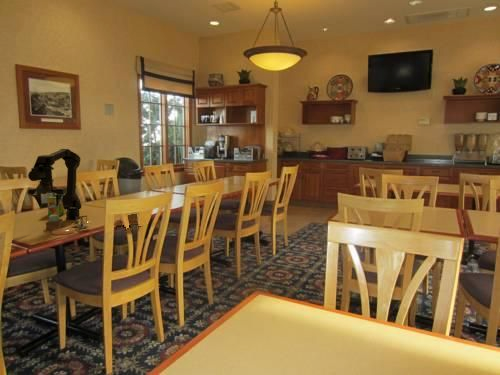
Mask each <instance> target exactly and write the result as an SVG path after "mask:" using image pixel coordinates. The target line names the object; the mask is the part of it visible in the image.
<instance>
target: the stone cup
mask: <svg viewBox="0 0 500 375" xmlns="http://www.w3.org/2000/svg"><path fill="white" fill-rule="evenodd" d="M121 219H122V218H120V219H117V220H115V221H114V225H115V227H124V226H123V225H122V221H121ZM128 219H129V223H130V226H136V225H139V224H138V223H137V214H131V215H128ZM130 226H129V227H130Z"/></svg>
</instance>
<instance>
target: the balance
mask: <svg viewBox="0 0 500 375" xmlns="http://www.w3.org/2000/svg"><path fill="white" fill-rule="evenodd" d="M77 218H79V219H77ZM83 218H85V219H86V220H85V221H83V220H84V219H83ZM87 224H88V225H89V224H92V221H91V220H88V215H81V216H80V215H79V217H76V219H75V220H74V222H72V223H71V225H72V226H76V228H78V229H81V230H82V229H87V228H88V227H89V226H88V225H87Z"/></svg>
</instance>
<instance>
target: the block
mask: <svg viewBox="0 0 500 375" xmlns="http://www.w3.org/2000/svg"><path fill="white" fill-rule="evenodd" d="M59 219H60V215H50V216H48V221H49V222H58V221H59Z"/></svg>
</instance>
